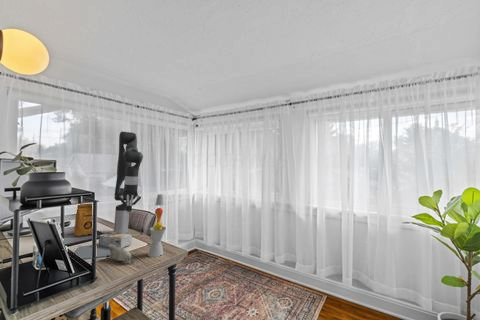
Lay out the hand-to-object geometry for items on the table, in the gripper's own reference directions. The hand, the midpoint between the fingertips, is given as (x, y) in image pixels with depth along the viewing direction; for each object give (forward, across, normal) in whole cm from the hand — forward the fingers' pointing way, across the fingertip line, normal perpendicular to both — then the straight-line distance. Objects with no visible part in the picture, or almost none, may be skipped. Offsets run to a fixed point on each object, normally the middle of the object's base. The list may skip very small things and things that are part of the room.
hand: (128, 211), depth 132 cm
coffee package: (+23, +26, -36) cm, 50 cm away
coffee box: (+19, 0, -1) cm, 19 cm away
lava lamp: (+22, -16, +14) cm, 31 cm away
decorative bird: (+23, +3, +17) cm, 29 cm away
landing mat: (+22, +14, 0) cm, 26 cm away
